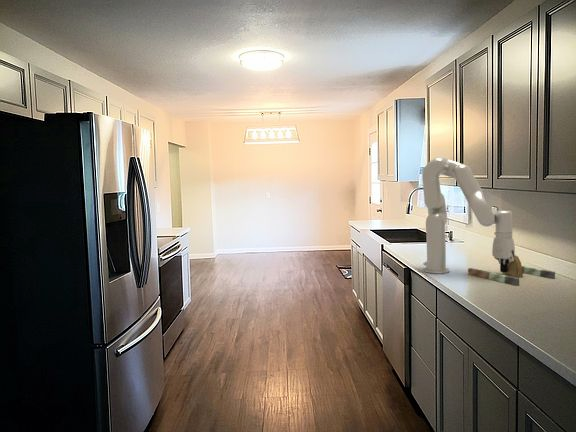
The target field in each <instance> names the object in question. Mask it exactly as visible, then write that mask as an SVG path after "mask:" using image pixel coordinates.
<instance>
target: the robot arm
mask: <svg viewBox="0 0 576 432" xmlns="http://www.w3.org/2000/svg"><path fill="white" fill-rule="evenodd" d="M441 175H443V176H446V177H449V178H452V179H455V181H456V183H457V185H458V186H459V188H460V190H461V192H462V194H463V196H464V197H465V199H466V201H467V203H468V205H469V207H470V208H471V210H472V212H473V214H474V216H475V218H476V220H477V221H478V223H479V224H480V225H481V226H483V227H490V226H492V225H495V232H494V236H495V237H494V238H493V242H492V251H491V252H492V253H491V255H492V256H493V258H494V260H497V261H498V264H500V266H499V272H500V273H503V272H507V271H508V264H509V262H513V261H514V257H515V255H516V249H515V241H514V238H513V212H512V210H491V208H490V206H489V204H488V203H487V201H486V198H485V196H484V192H483V189H482V188H481V185H480V184H479V183H478V180H477V179H476V177H475V175H474V174H473V171H472V169H471V167H470V166H469V165H468V164H464V163H462V162H461V163H460V162H457V161H454V160H451V159H447V158H444V157H439V156H438V157H435V158H433V159H431V160H430V161H429V162H428V163H426V165H425V166H424V168H423V171H422V176H421V177H422V178H421V179H422V190H423V191H422V192H423V200H424V201H423V202H424V205H425V206H426V208H427V214H428V215H427V217H426V218H425V232H426V235H425V236H426V261H425V262H423V263H422V265H423V266H425V268H424V269H423V272H424V273H427V274H437V275H438V274H439V275H440V274H448V273H449V272H450V268H447V258H446V257H447V256H446V255H447V249H446V247H447V246H446V244H447V243H446V224H447V222H448V213H447V206H446V198H445V196H444V194H443V193H442V191H441V183H440V176H441Z"/></svg>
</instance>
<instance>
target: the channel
mask: <svg viewBox="0 0 576 432" xmlns="http://www.w3.org/2000/svg"><path fill="white" fill-rule="evenodd" d="M522 270H523V274H527V275H531V276H537V277H542V278H546V279H556V271H551V270H547V269H540V268H536V267H530V266H525V265H522ZM467 274H468V275H470V276H475V277H479V278H483V279H486V280H490V281H495V282H500V283H504V284H508V285H512V286H515V287H516V286H520V277H516V276H511V275H506V274H505V275H504V274H501V273H497V272H496V273H495V272H491V271H487V270H482V269H476V268H473V267H469V268H468V269H467Z"/></svg>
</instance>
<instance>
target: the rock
mask: <svg viewBox="0 0 576 432" xmlns="http://www.w3.org/2000/svg"><path fill="white" fill-rule="evenodd" d="M522 266H523V265H522V262H521V260H520V258H519V256H518V255H516V254H515V257H514V261H513V262H509V264H508V271H507V272H502V274H503V275H504V274H505V275H506V276H510V277H515V278H523V277H524V276H523V275H524V273H523V270H522Z"/></svg>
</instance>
